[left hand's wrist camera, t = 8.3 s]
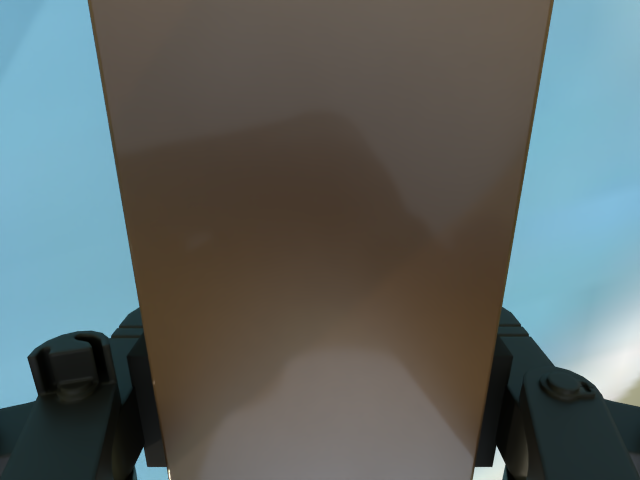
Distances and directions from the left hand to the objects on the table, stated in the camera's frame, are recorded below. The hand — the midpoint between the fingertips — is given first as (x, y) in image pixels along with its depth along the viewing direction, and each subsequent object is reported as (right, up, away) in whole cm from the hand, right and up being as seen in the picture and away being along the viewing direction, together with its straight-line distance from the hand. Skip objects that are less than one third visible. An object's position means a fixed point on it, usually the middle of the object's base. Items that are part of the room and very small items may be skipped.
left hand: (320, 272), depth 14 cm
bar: (0, +31, -11) cm, 33 cm away
